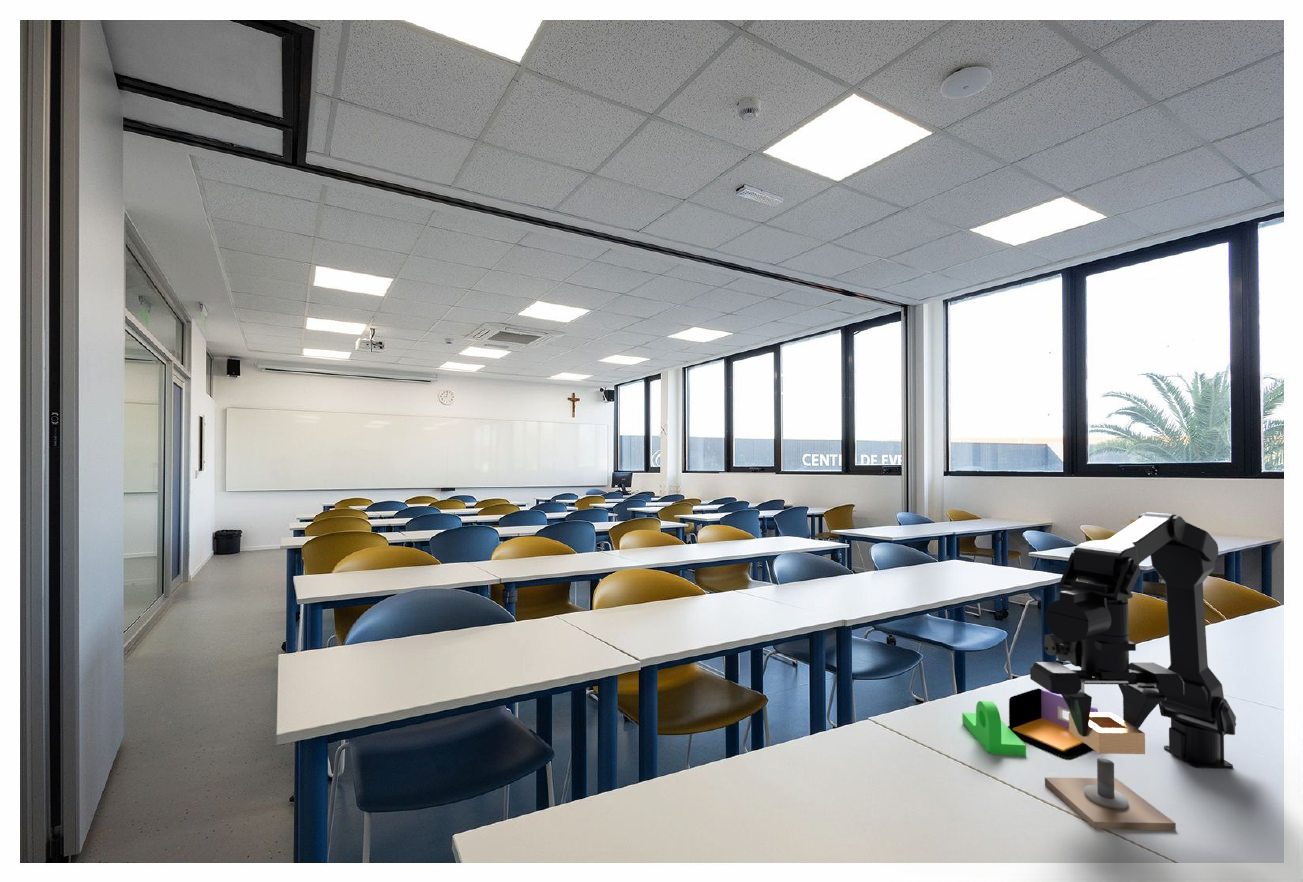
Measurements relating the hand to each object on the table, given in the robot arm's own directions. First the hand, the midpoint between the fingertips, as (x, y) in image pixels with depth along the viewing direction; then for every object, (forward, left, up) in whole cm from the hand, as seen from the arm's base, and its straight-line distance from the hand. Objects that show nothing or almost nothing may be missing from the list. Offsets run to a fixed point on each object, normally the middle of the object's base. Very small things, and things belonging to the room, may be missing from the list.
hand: (1105, 735), depth 88 cm
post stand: (0, 0, -11) cm, 11 cm away
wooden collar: (0, 0, -1) cm, 1 cm away
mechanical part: (+5, -21, -11) cm, 25 cm away
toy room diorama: (-6, -22, -11) cm, 25 cm away
